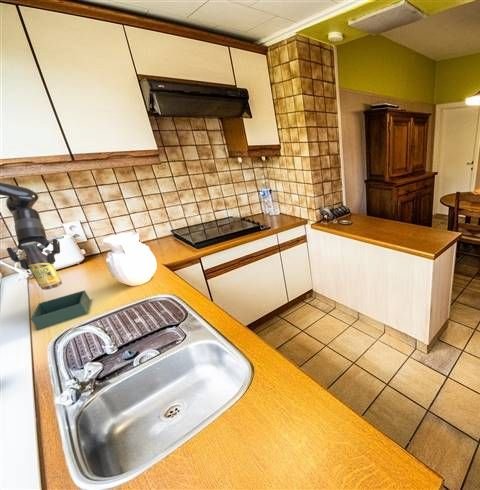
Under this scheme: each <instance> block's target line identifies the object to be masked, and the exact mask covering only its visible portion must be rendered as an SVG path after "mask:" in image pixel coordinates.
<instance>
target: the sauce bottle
mask: <svg viewBox="0 0 480 490" xmlns="http://www.w3.org/2000/svg"><path fill="white" fill-rule="evenodd" d="M21 247H22V248H23V249H24V251H25V253H26V255H27V260H26V261H27V265H28V268H29V269H28V270H29V271H30V273H31V275H32V276H33V278H34V280H35V282H36V283H37V285H38V287H40V288H41V290H42V291H48V290H52V289H55V288H58V287H60V286H61V285H63V282H62V279H61V276H60V274H59V273H58V271H57V270H56V269H57V268H56V267H55V266H54V264H50V263H49V261H48V257H47V255H48V254H46V253H43V252H41V251H40V249H39V248H38V244H37V243H36V242H28V243H24V244H21Z"/></svg>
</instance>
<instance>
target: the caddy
mask: <svg viewBox="0 0 480 490" xmlns="http://www.w3.org/2000/svg"><path fill="white" fill-rule="evenodd" d="M90 302H91V299H90V297H89V296H88V293H87V292H86V290H81V291H78V292H73V293H70V294H67V295H64V296H60V297H56V298H53V299H50V300H46V301H42V302H39V303H38V304H37V306H36V308H35V310H34V312H33V314H32V315H31V317H30V320H31V323H33V325H34V326H35V328H36V329H37V330H38V331H40V330H42V329H46V328H49V327H51V326H55V325H57V324H61V323H63V322H66V321H70V320H74V319H76V318H80V317H82V316H85V315H88V312H89V307H90Z"/></svg>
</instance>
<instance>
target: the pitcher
mask: <svg viewBox="0 0 480 490" xmlns="http://www.w3.org/2000/svg"><path fill="white" fill-rule="evenodd" d="M139 240H140V233H139V232H136V231H130V232H128V231H127V232H121V233H118V234H113V235H110V236H107V237H105V238H103V240H102V243H103V244H104V246H106V247H107V248H109V250H111V251H107V254H106V258H105V262H106V266H107V270H108V272H109V274H110V275H111V277H112V278H113V279H115V280H116V281H117V282H119V283H121V284H124V285H127V286H129V287H137V286H140V285H143V284H145V283H148V282H149V281H150V280H151V279H152V277H154V274H155V273H156V271H157V268H158V267H157V264H158V263H157V260H156V257H155V255H154V253H153V252H152V251H151V250H150V247H149V246H148V245H147V244H145V243H142V242H141V241H139Z"/></svg>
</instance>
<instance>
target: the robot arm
mask: <svg viewBox="0 0 480 490" xmlns="http://www.w3.org/2000/svg"><path fill="white" fill-rule="evenodd" d="M0 196H5V197H7V198H6V200H5V206H6V208H7V210H8V211H9V213H10V214H11V215H12V218H13V222H14V230H15V231H14V232H15V235H16V240H17V246H15V247H10V246H9V247H7V248H6V251H7V253H8V256H9V258H10V260H11V261H13V262H14V263H19V264H20V268H21V269H23V270H26V271H28V270H30V269H29V268H28V265H27V261H26V260H27V255H26V253H25V251H24V249H23V248H22V247H21V244H24V243H28V242H36V243H37V244H38V248H39V249H40V251H41V252H42V253H43V252H44V253H45V254H46V255H47V257H48V261H49V263H50V264H53V265H54V264H55V263H56V257H55V255H58V254H60V253H61V244H60V241H59V240H58V239H57V238H53V239H51V240H49V239H48V238H47V233H46V231H45V230H46V228H45V227H44V226H45V225H44V224H43V222H42V219H41V214H40V212H39V211H38V210H36V209H35V208H33V207H34V205H35V204H36V203H37V202H38V200H39V195H38V194H37V192H35V191H34V190H32V189H31V188H27V187H24V186H19V185H15V184H11V183H6V182H1V181H0ZM50 245H51V246H52V250H50V249H48V247H49V246H50ZM19 250H20V251H21V252H20V255H19V256H18V252H19Z"/></svg>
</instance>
